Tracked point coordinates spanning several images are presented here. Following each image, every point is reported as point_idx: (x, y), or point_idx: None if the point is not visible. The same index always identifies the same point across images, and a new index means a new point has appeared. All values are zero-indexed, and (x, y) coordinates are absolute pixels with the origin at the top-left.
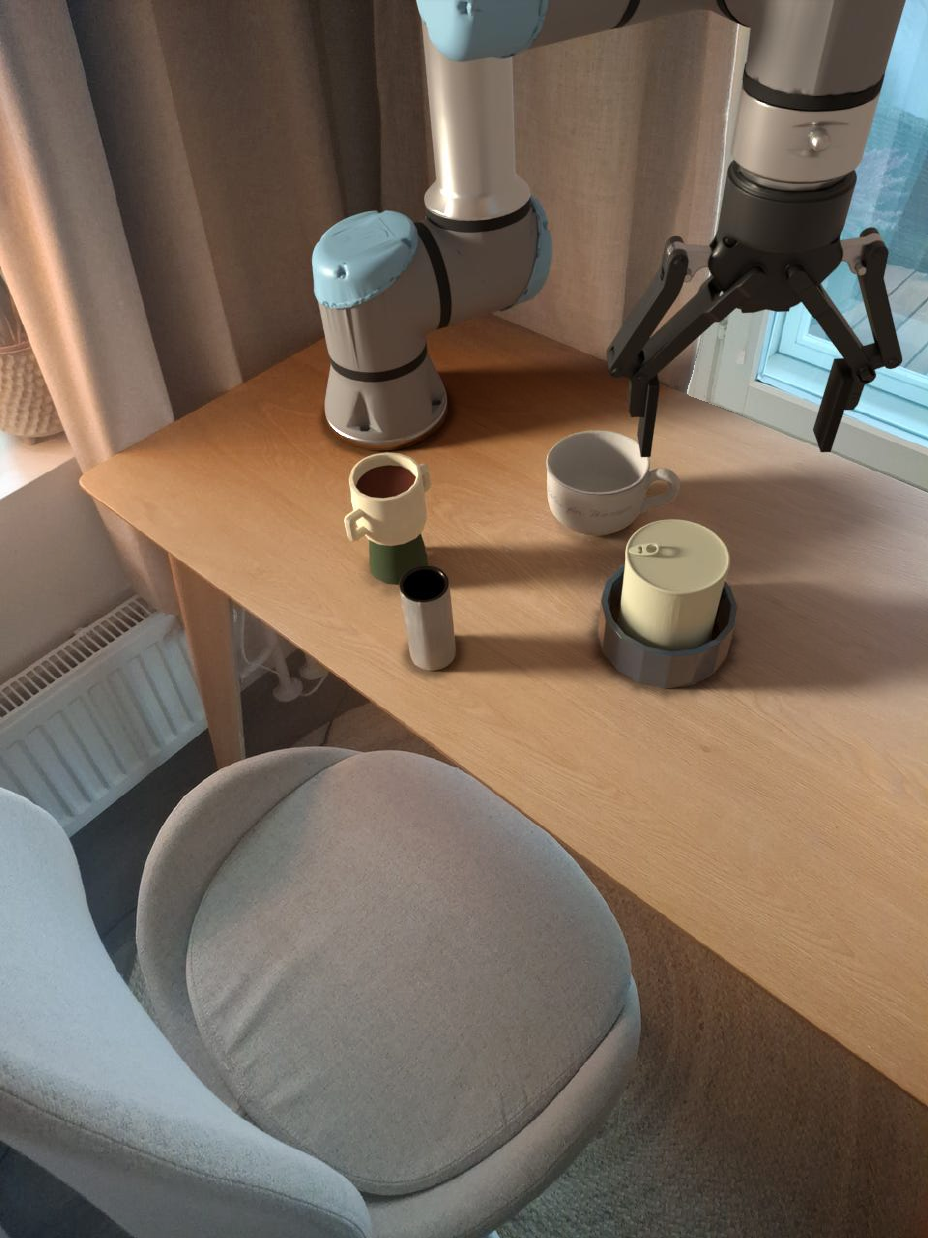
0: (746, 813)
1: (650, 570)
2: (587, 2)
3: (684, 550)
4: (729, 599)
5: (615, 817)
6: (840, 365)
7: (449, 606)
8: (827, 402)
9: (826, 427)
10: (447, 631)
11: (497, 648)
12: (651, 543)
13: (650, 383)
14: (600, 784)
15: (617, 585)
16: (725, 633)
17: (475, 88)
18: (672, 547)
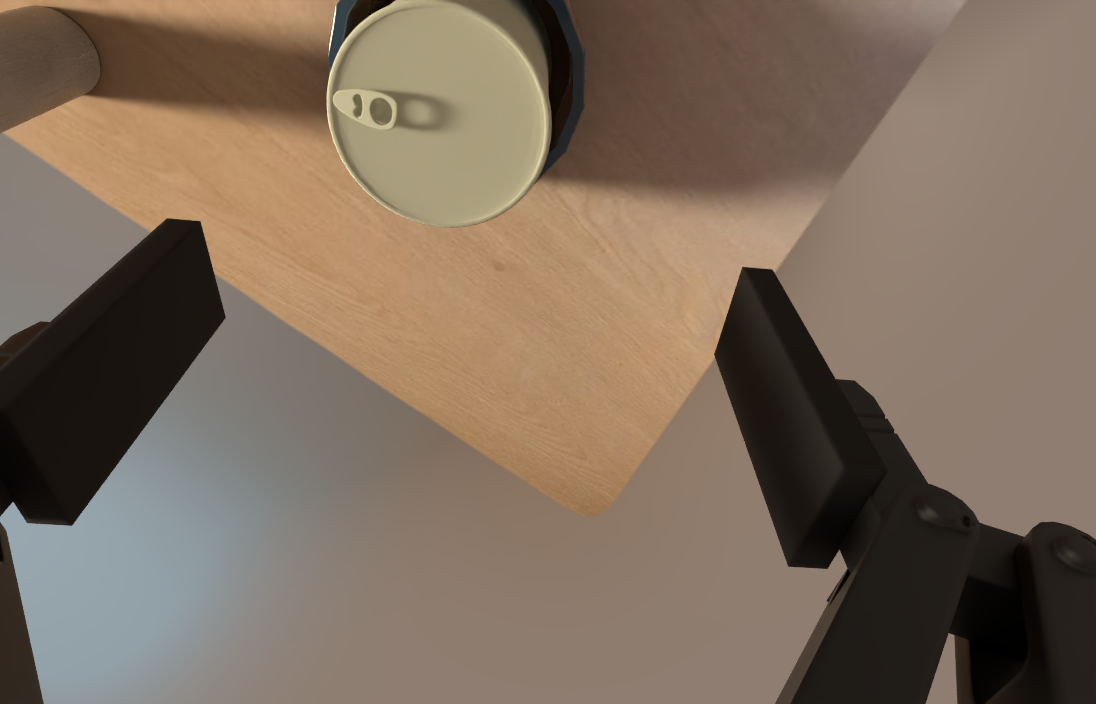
0: (528, 343)
1: (380, 160)
2: None
3: (457, 111)
4: (573, 90)
5: (379, 335)
6: (837, 503)
7: (5, 111)
8: (767, 399)
9: (735, 398)
10: (42, 106)
11: (173, 53)
12: (381, 95)
13: (26, 505)
14: (361, 298)
15: None
16: (545, 167)
17: None
18: (432, 99)
